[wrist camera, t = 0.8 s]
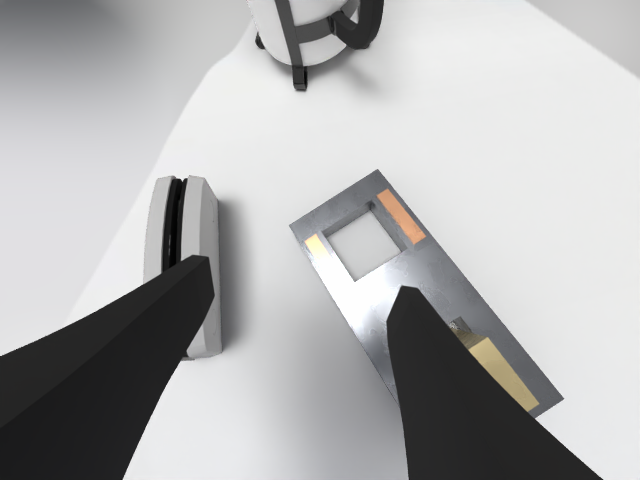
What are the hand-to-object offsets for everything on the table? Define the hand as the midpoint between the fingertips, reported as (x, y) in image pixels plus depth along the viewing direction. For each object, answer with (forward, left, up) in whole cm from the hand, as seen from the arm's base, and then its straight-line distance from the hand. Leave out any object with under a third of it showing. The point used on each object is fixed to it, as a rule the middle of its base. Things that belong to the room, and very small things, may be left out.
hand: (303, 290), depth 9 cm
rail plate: (-3, -5, -15) cm, 16 cm away
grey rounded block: (+9, +10, -15) cm, 20 cm away
